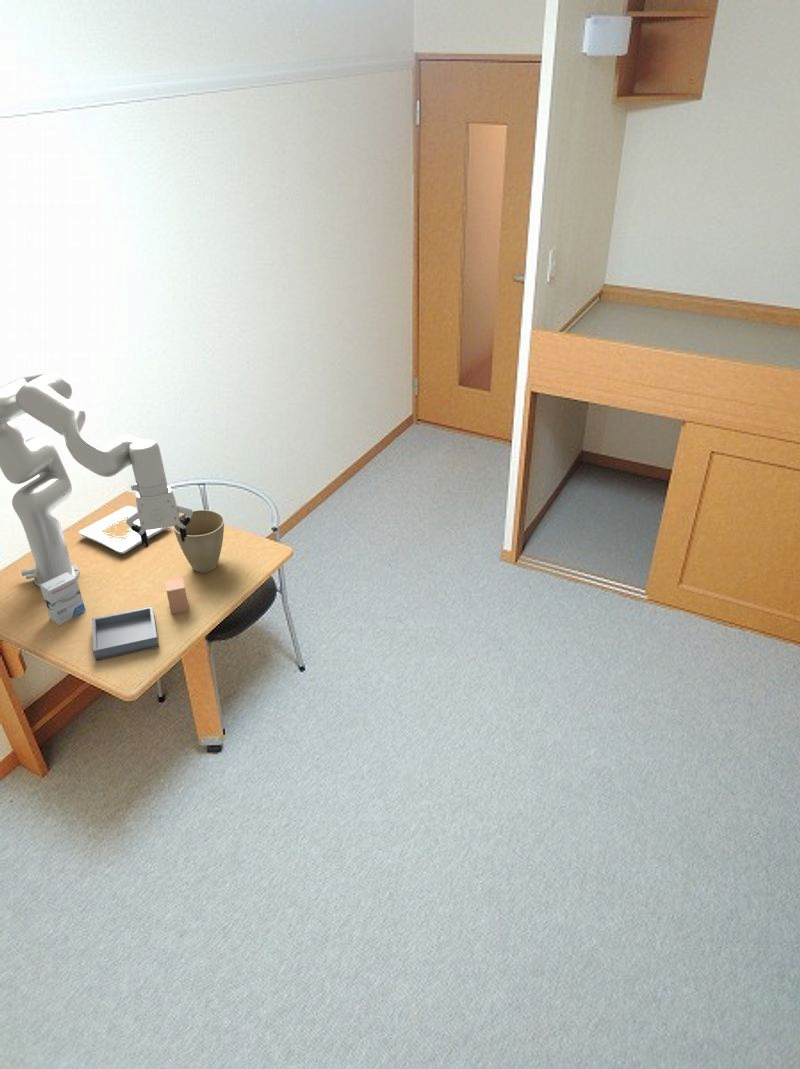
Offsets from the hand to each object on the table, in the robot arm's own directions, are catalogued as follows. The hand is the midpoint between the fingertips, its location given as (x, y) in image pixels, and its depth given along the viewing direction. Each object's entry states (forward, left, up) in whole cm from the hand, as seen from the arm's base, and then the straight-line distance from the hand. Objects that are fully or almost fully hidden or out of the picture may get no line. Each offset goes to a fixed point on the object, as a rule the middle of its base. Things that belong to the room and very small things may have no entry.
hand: (165, 541), depth 204 cm
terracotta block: (0, -1, -22) cm, 22 cm away
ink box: (-30, +6, -22) cm, 38 cm away
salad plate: (-12, +44, -22) cm, 51 cm away
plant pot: (+10, +17, -22) cm, 30 cm away
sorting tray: (-15, -10, -22) cm, 28 cm away
